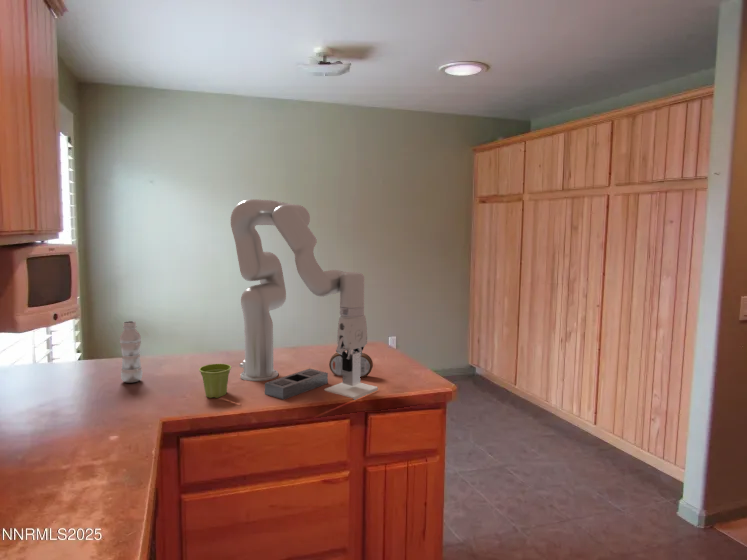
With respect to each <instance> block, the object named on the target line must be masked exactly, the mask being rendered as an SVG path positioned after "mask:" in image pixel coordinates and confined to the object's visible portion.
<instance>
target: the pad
mask: <svg viewBox="0 0 747 560" xmlns="http://www.w3.org/2000/svg"><path fill="white" fill-rule="evenodd" d="M378 390H379V387H378V386H376V385H371V384H367V383H363V382H360V383H359V384H356V385H354V386H351V385H347V384H343V381H342V382H339V383H336V384H334V385H331V386H329V387H326V388H324V392H327V393H331V394H334V395H335V394H336V395H338V396H339V395H340V396H343V397H347V398H349V399H352V400H353V401H355V400H358V399H360V398H361V399H362V398H363V397H366V396H367V395H370V394H372V393H375V392H376V391H378Z"/></svg>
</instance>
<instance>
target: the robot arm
mask: <svg viewBox="0 0 747 560" xmlns="http://www.w3.org/2000/svg"><path fill="white" fill-rule="evenodd" d="M310 222H311V216H310V212H309V211H308V210H307V208H306V207H305V206H303V205H302V204H295V203H288V202H285V201H284V202H282V201H278V200H273V199H272V200H271V199H269V200H268V199H260V198H259V199H252V198H251V199H246V200H245V199H244V200H242V201H240V202H239V203H237V204H236V205H235V206H234V208H233V210H232V212H231V215H230V228H231V232H232V235H233V239H234V243H235V250H236V255H237V256H236V257H237V261H238V267H239V270H240V271H239V273H240V275H241V277H242V278H243V279H244V280H245V281H247V282H257V281H259V282H260V284H259V283H258V284H254V285H251V286H249V287H247V288H246V289H245V290H244V291H243V292H242V294H241V298H240V305H241V309H242V314H243V326H244V330H243V331H244V333H243V334H244V360H242V362H241V363H239V367H240V368H243V372H241V373H240V379H241V380H244V381H248V382H249V381H250V382H265V381H269V380H270V381H271V380H274V379H277V377H278V375H279V372H278V370H277V369H274V324H273V319H272V317H271V314H270V311H273V310H276V309H280V307H282V306H284V304H285V302H286V300H287V291H286V290H287V289H286V284H285V278H284V273H283V267H282V264H281V261H280V259H279V257H278V256H277V255H276V254H274V253H273V252H270V251H264V249H263V245H262V244H263V243H262V239H261V236H260V234H259V232H258V231H257V229H256V226H275V228H276V229H277V230H278V232H279V233H280V235H281V237H282V238H283V240H284V241H285V242H286V244H287V245H288V247H289V248H290V250H291V251H292V253H293V254H294V262H295V266H296V270H297V273H298V275H299V278H300V279H301V280H302V281H303V283H304V284H305V286H306V288H308V290H309V291H310V292H311V293H312V294H313V295H315V296H317V297H327V296H331V295H335V294H339V318H338V325H337V337H336V340H337V341H336V342H337V343H336V344H337V346H336V348H335V353H339V354H340V356H341V358H342V370H344V371H348V372H350V371H351V359H350V354H351V350H353V351H358V352H361V355H362V353H363V350H364V348H365V347H366V346H367V344H368V325H367V318H366V315H365V276H364V274H363V273H362V272H358V271H347V272H346V271H343V270H339V269H331V270H330V269H329V270H326V271H324V270H323V269H322V268H321V266H320V264H319V263H318V261H317V259H316V258H315V254H314V253H315V252H314V249H315V247H316V245H317V243H318V241H317V237H316V236H315V234H314V233H313V232H312V230H311V228H310V227H309V224H310ZM346 351H347V353H346Z"/></svg>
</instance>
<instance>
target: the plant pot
mask: <svg viewBox="0 0 747 560" xmlns="http://www.w3.org/2000/svg"><path fill="white" fill-rule="evenodd" d="M231 370H232V365H230V364H227V363H211V364H206V365H203V366H201V367H199V368H198V371H199V372H200V375H201V376H202V380H203V381H202V384H203V388H204V394H205V396H206V398H209V399H212V398H216V399H219V398H221V397H222V396H225V395H226V394H227V391H228V382H229V374H230V371H231Z"/></svg>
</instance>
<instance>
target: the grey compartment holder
mask: <svg viewBox="0 0 747 560" xmlns="http://www.w3.org/2000/svg"><path fill="white" fill-rule="evenodd" d="M328 380H329V373H328V372H326V371H325V372H324V371H322V370H317V369H313V368H308V369H304V370H301V371H298V372H295V373H292V374H289V375H285V376H282V377H279V378H275V379H272V380H270V381H269V380H268V381H266V382H265V383H264V395H267V396H270V397H273V398H276V399H279V400H282V401H283V400H286V399H289V398H292V397H295V396H297V395H301V394H302V393H303V394H304V393H305V392H308V391H310V390H311V391H312V390H313V389H316V388H318V387H322V386H325V385H327V384H328V382H329V381H328Z"/></svg>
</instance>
